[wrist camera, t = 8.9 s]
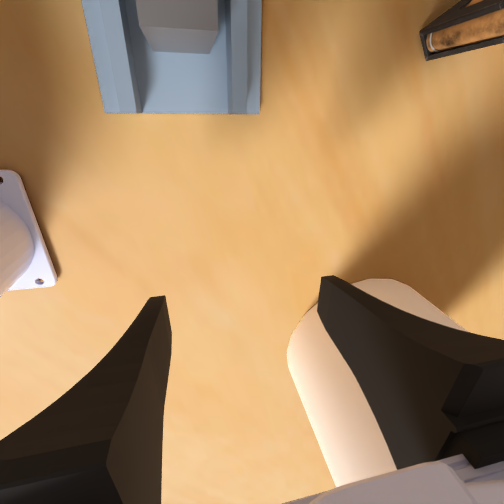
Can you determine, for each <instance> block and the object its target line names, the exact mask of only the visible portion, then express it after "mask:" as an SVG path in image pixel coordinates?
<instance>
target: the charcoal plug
mask: <svg viewBox="0 0 504 504" xmlns="http://www.w3.org/2000/svg"><path fill="white" fill-rule="evenodd" d="M136 7H137V14H138V21H139V26H140V28H141V30H142V32H143V34H144V36H145V37H146V39H147V41H148V43H149V45H150V47H151V48H152V50H153V52H173V53H195V54H210V52H211V49H212V46H213V44H214V41H215V39H216V36H217V34H218V31H219V27H218V1H217V0H136Z"/></svg>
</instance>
